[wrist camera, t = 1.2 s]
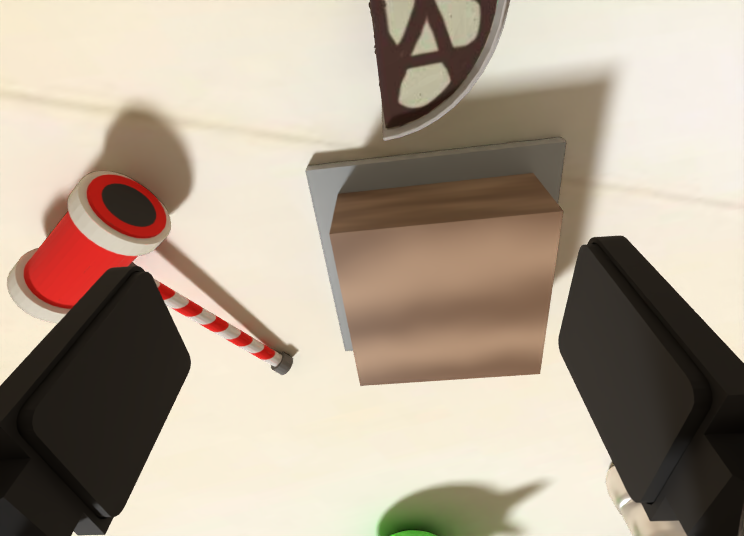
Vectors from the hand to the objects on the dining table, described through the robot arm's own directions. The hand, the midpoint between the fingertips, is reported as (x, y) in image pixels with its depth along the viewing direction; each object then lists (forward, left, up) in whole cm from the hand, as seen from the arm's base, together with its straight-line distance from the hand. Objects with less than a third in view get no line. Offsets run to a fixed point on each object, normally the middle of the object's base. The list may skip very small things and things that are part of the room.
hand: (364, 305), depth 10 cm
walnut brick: (+13, +3, -21) cm, 25 cm away
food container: (-6, +3, -23) cm, 23 cm away
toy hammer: (+13, -19, -23) cm, 33 cm away
